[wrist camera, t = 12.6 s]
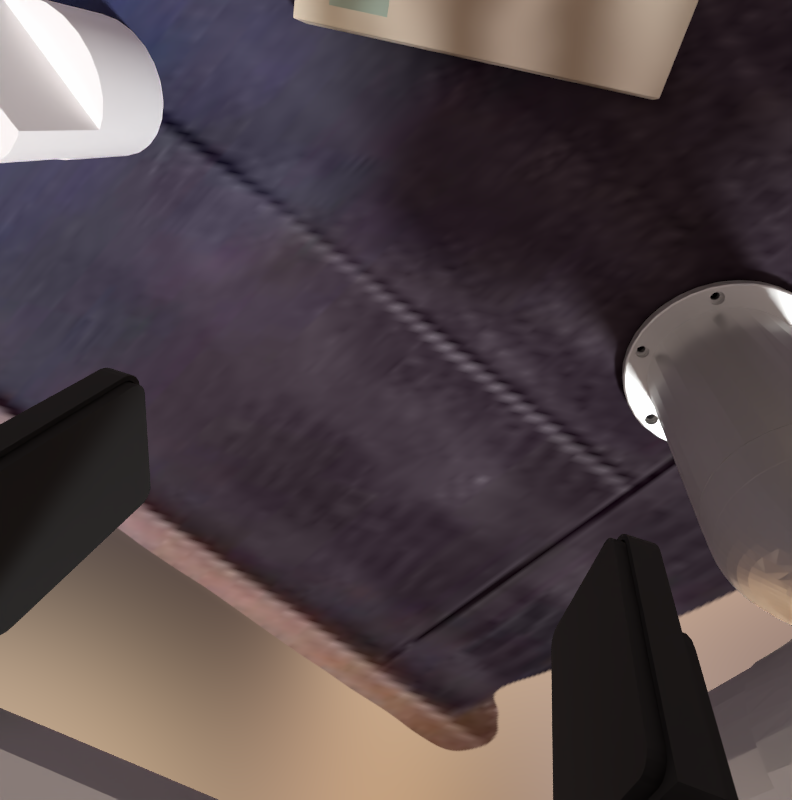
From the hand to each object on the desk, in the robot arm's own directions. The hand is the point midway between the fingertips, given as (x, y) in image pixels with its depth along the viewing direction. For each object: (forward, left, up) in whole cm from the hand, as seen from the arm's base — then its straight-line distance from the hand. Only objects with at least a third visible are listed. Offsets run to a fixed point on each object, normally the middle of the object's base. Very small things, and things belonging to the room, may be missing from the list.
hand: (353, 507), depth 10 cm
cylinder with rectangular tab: (+30, -3, -31) cm, 43 cm away
